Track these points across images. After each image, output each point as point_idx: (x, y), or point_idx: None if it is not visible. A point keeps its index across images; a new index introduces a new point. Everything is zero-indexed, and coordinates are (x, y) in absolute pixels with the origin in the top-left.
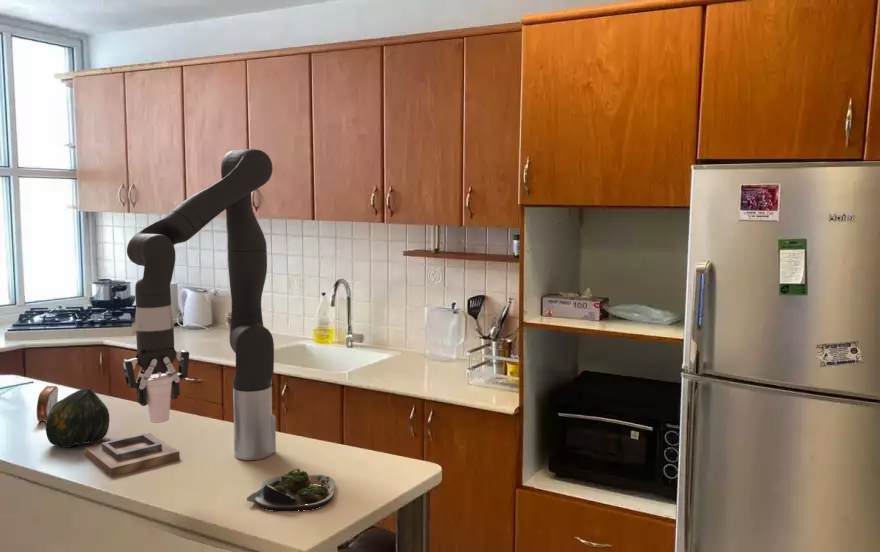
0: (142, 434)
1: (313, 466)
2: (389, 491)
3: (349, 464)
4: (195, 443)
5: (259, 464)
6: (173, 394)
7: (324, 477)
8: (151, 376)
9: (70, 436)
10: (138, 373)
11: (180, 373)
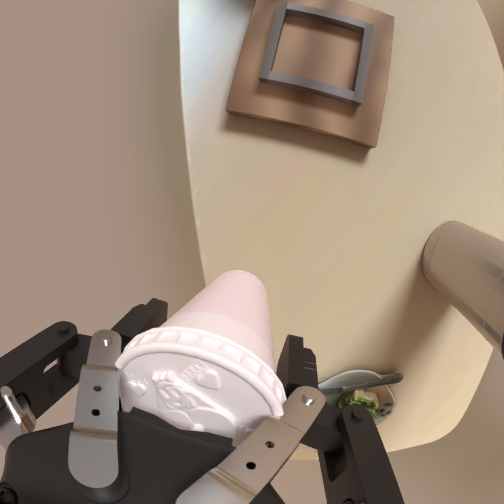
0: (366, 25)
1: (431, 363)
2: (385, 447)
3: (445, 386)
4: (436, 110)
5: (417, 300)
6: (278, 372)
7: (389, 408)
8: (165, 391)
9: None
10: (81, 370)
11: (325, 446)
